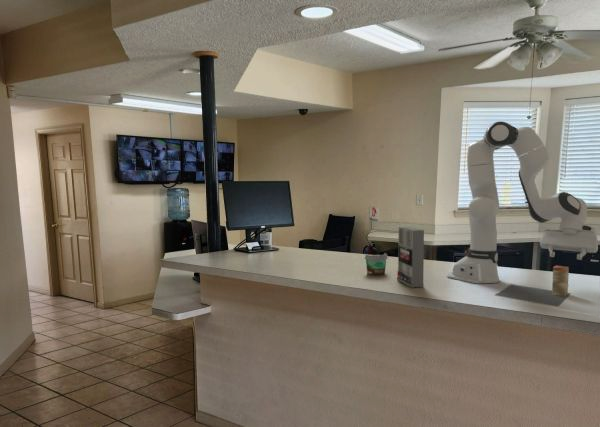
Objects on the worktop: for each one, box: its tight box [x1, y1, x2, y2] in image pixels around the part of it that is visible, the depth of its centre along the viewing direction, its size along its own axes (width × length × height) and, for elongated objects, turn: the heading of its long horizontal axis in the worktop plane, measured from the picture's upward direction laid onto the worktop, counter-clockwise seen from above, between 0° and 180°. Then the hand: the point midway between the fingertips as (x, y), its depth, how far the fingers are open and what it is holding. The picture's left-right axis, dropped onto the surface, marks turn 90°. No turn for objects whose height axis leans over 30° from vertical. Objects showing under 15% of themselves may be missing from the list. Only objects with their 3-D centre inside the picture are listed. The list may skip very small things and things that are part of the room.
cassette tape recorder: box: [396, 226, 425, 289], centre depth 183 cm, size 14×6×25 cm, turn 13°
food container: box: [364, 252, 389, 277], centre depth 202 cm, size 12×6×10 cm, turn 114°
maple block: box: [551, 265, 570, 296], centre depth 163 cm, size 4×4×11 cm
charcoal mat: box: [494, 284, 571, 307], centre depth 163 cm, size 22×22×1 cm
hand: (565, 257), depth 167 cm, fingers open, 8 cm apart
